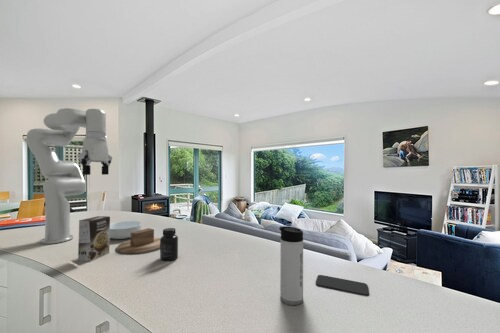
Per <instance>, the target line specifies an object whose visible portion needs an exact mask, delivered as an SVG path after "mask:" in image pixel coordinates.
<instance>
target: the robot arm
mask: <svg viewBox="0 0 500 333" xmlns="http://www.w3.org/2000/svg"><path fill="white" fill-rule="evenodd" d="M106 116H107V115H106V112H105V111H104V110H103V109H99V108H88V109H86V111H85V110H80V109H75V108H72V107H71V108H67V107H66V108H60V109H58V110H57V112H55V113H49V114H47V115H46V116H45V117H44V118H43V124H44V126H46V127H47V128H33V129H29V130H28V131H27V133H26V144H27V146H28V148H29V150H30V152H31V154H33V156H34V157H35V159H36V162H37V164H38V167H39V169H40V170H39V171H40V172H41V174H42V177H43V178H45V179H47V180H45V181H44V183H43V185H42V189H43V195H44V202H45V203H44V204H45V206H44V207H45V211H44V212H45V213H44V214H45V216H44V220H45V223H44V238H42V239H41V240H40V243H41V244H43V245H52V244H54V245H55V244H59V243H64V242H68V241H70V240H73V239H74V235H73V234H70V231H71V230H70V229H71V228H70V224H71V223H70V222H71V220H70V219H71V204H70V202H69V200H68V199H67V198H66V197H69V196H77V195H78V196H79V195H81V194H84V193H85V192H86V189H87V183H86V180H85V177H84V176H90V175H91V165H90V164H92V163H101V165H102V166H101V175H104V176H105V175H109V168H110V165H111V163H112V160H113V157H112V156H111V155H109V148H108V147H109V146H108V142H107V132H106V131H107V126H106V125H107V124H106V123H107V121H106V118H107V117H106ZM48 128H49V129H48ZM80 128H84V129H85V138H84V139H83V142H82V149H81V152H80V153H78V154H77V159H78V161H79V162H80V164H81V166H82V171H81V168H80V166H79V165H78V164H77V162H75V161H71V160H60V158H59V157H58V154H57V153H56V152H55V151H54V150H53V149H52V148H51V146H53V147H67V146H69V145H70V144H71V142H72V141H73V139H74V138H75V136H76V135H77V133H78V132H79V130H80ZM49 146H50V147H49Z"/></svg>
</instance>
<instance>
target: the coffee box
mask: <svg viewBox="0 0 500 333" xmlns="http://www.w3.org/2000/svg"><path fill="white" fill-rule="evenodd" d="M110 224H111V216H108V215H107V216H106V215H105V216H104V215H103V216H101V215H100V216H99V215H97V216H92V217H89V218H84V219H80V220H79V221H78V248H77V251H78V252H77V260H78V261H83V262H92V261H96V260H98V259H99V258H103V257H105V256H106V255H109V254H110V242H111V241H110V239H111V238H110Z"/></svg>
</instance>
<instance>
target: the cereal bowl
mask: <svg viewBox="0 0 500 333" xmlns="http://www.w3.org/2000/svg"><path fill="white" fill-rule="evenodd" d="M139 230H142V222H141V221H137V220H124V221H116V222H112V223H110V239H115V240H125V239H130V236H131V232H134V231H139Z"/></svg>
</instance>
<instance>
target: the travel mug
mask: <svg viewBox="0 0 500 333" xmlns="http://www.w3.org/2000/svg"><path fill="white" fill-rule="evenodd" d="M279 231H280V262H279V264H280V265H279V266H280V268H279V269H280V272H279V273H280V275H279V276H280V280H279V281H280V285H279V286H280V287H279V289H280V291H279V292H280V295H279V296H280V300H281V301H282V302H283V303H285V304H287V305H289V306H298V305H300V304H302V303H303V302H304V231H303V230H302V229H301V228H298V227H293V226H287V225H286V226H284V225H283V226H279Z"/></svg>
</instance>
